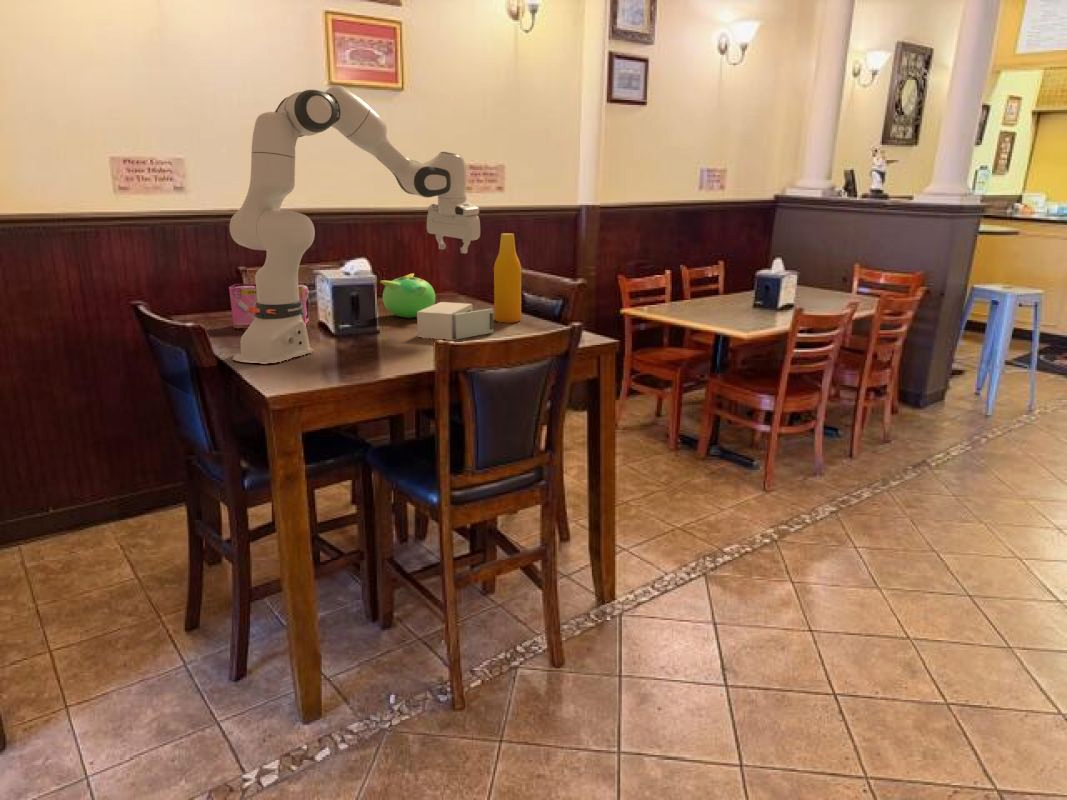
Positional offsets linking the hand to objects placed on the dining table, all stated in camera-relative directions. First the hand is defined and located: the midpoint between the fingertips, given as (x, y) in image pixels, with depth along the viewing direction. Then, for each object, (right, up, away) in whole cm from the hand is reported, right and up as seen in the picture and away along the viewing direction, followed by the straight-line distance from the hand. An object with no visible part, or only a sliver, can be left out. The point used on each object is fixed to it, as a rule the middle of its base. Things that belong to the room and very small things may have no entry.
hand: (453, 251), depth 239 cm
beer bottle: (+17, -20, +17) cm, 32 cm away
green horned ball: (-17, -19, +21) cm, 33 cm away
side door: (+7, -28, -7) cm, 30 cm away
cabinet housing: (-2, -26, -2) cm, 26 cm away
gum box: (-59, -24, +5) cm, 64 cm away
